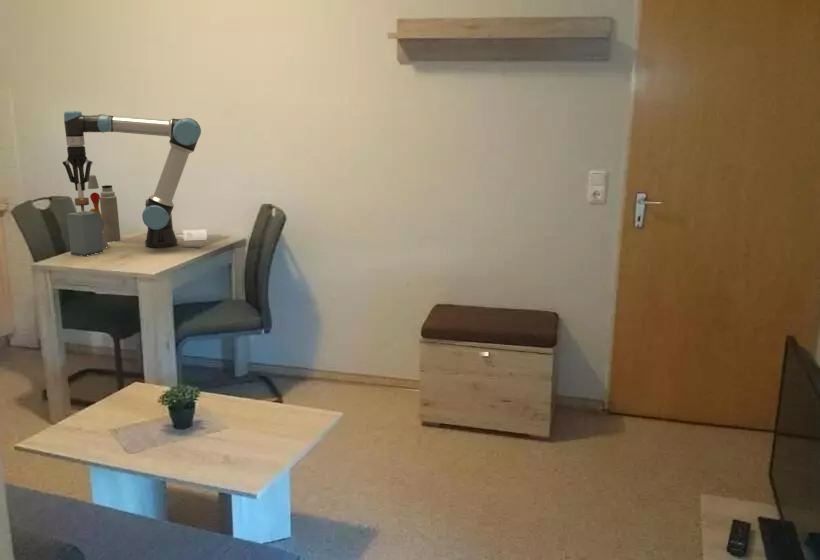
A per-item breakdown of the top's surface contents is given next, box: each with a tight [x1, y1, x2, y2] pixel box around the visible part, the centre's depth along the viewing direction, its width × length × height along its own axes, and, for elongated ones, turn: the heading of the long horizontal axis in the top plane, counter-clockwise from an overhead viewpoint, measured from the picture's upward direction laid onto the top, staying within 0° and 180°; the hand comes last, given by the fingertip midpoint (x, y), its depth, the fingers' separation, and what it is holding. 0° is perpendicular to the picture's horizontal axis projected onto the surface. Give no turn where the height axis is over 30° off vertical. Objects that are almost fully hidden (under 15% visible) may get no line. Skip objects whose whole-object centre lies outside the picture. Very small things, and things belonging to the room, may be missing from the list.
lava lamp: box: [87, 174, 109, 249], centre depth 371 cm, size 9×9×35 cm
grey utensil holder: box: [66, 210, 104, 257], centre depth 358 cm, size 10×10×19 cm
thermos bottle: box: [99, 184, 121, 243], centre depth 390 cm, size 8×8×28 cm
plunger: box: [74, 196, 90, 214], centre depth 357 cm, size 8×8×22 cm
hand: (81, 197), depth 355 cm, fingers closed
